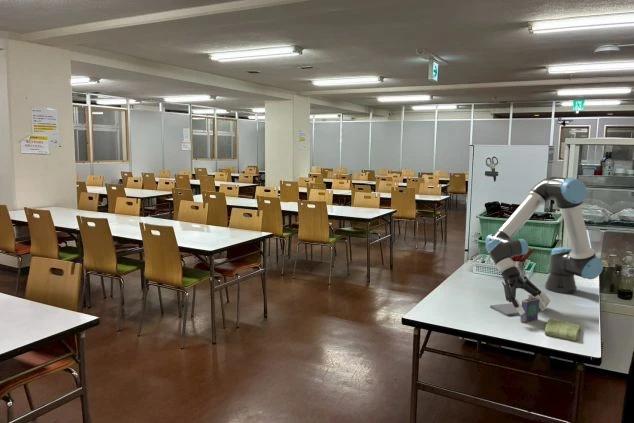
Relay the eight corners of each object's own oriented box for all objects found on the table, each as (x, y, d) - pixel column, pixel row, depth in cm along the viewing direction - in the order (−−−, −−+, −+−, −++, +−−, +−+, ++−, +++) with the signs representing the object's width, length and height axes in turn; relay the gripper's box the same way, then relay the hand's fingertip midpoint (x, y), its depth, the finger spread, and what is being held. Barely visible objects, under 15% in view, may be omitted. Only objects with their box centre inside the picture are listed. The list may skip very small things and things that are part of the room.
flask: (523, 323, 203) (525, 297, 201) (517, 321, 206) (519, 295, 204) (539, 320, 207) (541, 295, 206) (533, 317, 210) (535, 293, 208)
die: (547, 314, 216) (556, 296, 218) (530, 304, 217) (539, 286, 219) (538, 314, 224) (547, 297, 226) (522, 304, 225) (531, 287, 227)
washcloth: (581, 329, 198) (581, 322, 198) (578, 343, 183) (579, 335, 183) (547, 322, 205) (547, 315, 205) (541, 336, 190) (542, 328, 190)
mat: (511, 305, 226) (511, 303, 226) (528, 313, 215) (528, 311, 215) (490, 307, 223) (490, 305, 223) (506, 316, 211) (507, 314, 211)
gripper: (522, 271, 223) (547, 311, 212) (483, 277, 212) (508, 319, 201) (532, 263, 218) (558, 303, 207) (493, 268, 207) (519, 311, 196)
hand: (533, 311), depth 204 cm, fingers open, 13 cm apart
